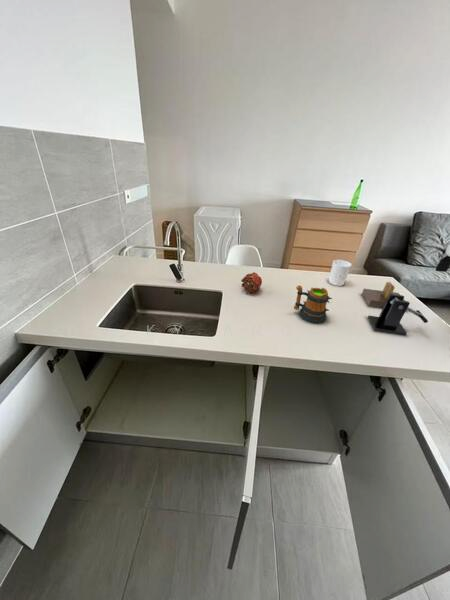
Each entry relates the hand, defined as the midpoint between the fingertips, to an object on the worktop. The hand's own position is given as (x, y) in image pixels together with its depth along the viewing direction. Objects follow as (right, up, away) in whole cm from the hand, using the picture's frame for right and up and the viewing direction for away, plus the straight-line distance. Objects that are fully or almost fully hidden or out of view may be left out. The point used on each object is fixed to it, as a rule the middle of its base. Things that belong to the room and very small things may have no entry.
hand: (449, 277), depth 76 cm
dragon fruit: (-60, -3, +29) cm, 66 cm away
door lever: (-9, -11, +6) cm, 16 cm away
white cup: (-18, +1, +39) cm, 43 cm away
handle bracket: (-13, -17, +11) cm, 24 cm away
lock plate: (-5, -8, +25) cm, 27 cm away
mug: (-40, -13, +14) cm, 44 cm away
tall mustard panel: (-5, -6, +23) cm, 25 cm away
